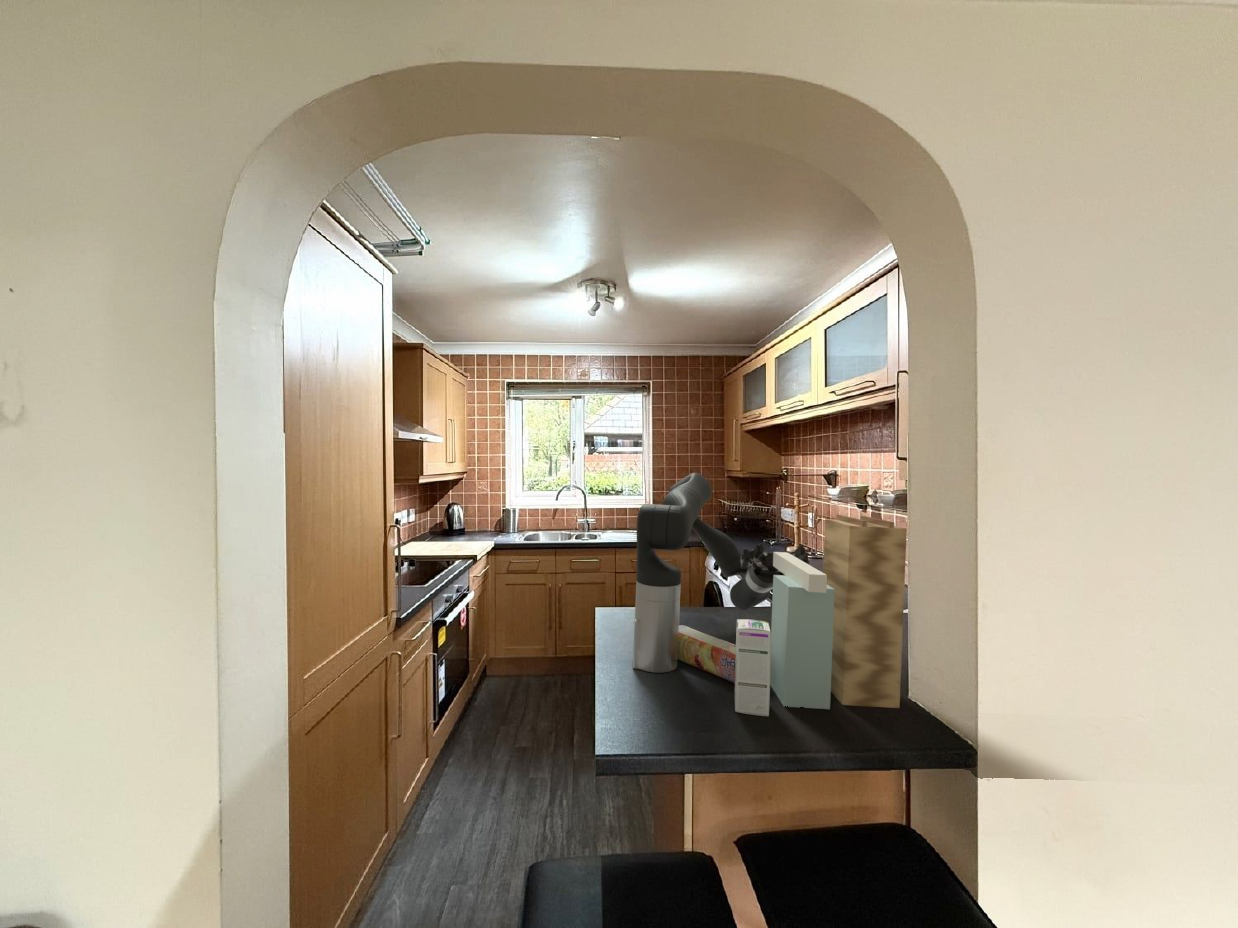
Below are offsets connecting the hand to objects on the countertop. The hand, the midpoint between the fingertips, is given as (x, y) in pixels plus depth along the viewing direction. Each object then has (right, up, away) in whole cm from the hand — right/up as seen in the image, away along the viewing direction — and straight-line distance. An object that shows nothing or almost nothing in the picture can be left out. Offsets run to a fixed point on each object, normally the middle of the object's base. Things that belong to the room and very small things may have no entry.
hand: (781, 548), depth 109 cm
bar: (-1, -4, -11) cm, 11 cm away
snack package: (-15, -25, -4) cm, 29 cm away
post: (-2, -25, -14) cm, 29 cm away
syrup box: (-12, -25, -20) cm, 34 cm away
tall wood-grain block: (+11, -25, -12) cm, 30 cm away
